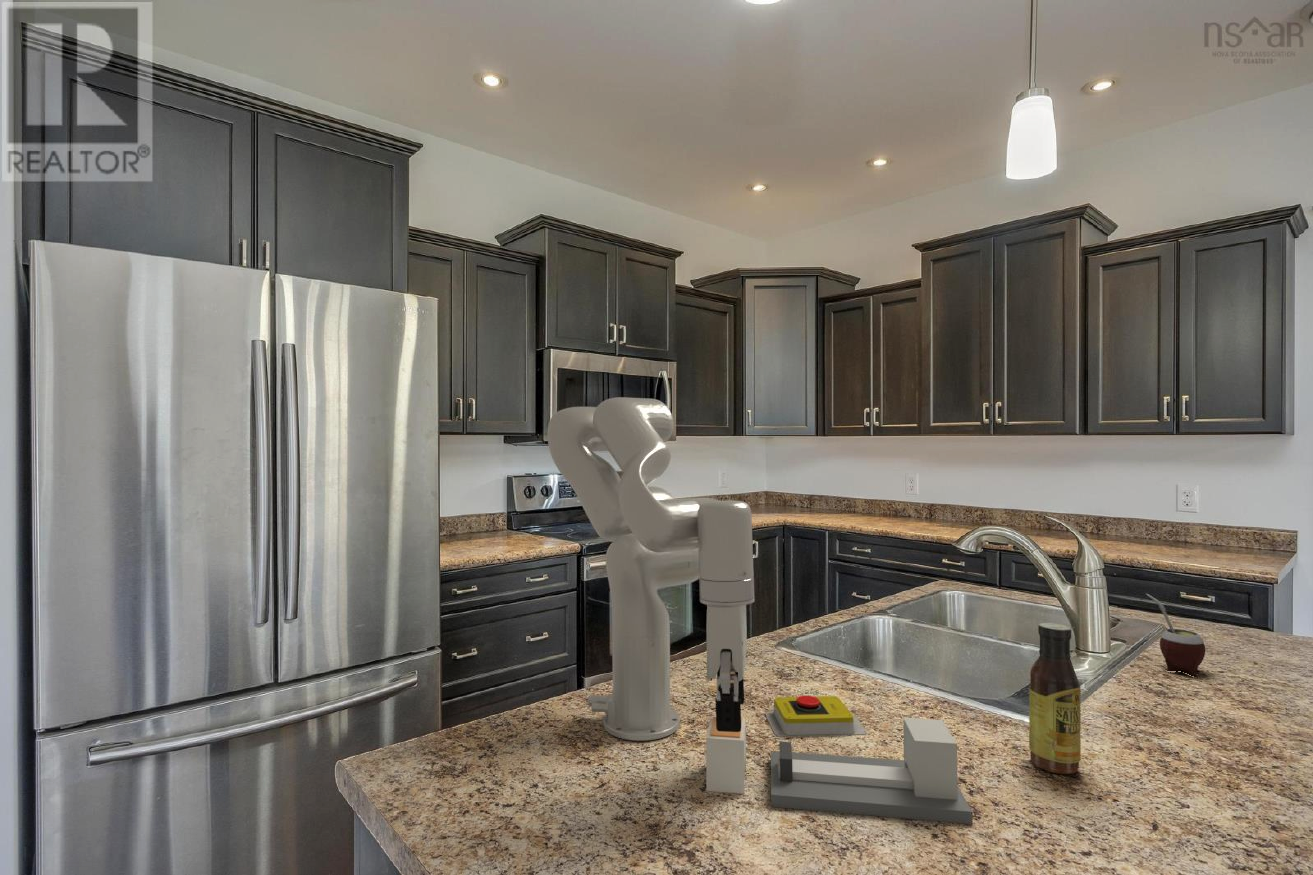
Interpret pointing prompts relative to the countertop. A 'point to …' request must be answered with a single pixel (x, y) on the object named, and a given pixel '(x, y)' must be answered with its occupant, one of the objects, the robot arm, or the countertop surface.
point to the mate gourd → (1181, 647)
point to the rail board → (877, 779)
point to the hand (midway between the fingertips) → (731, 716)
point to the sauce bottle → (1054, 704)
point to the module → (725, 759)
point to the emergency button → (813, 717)
